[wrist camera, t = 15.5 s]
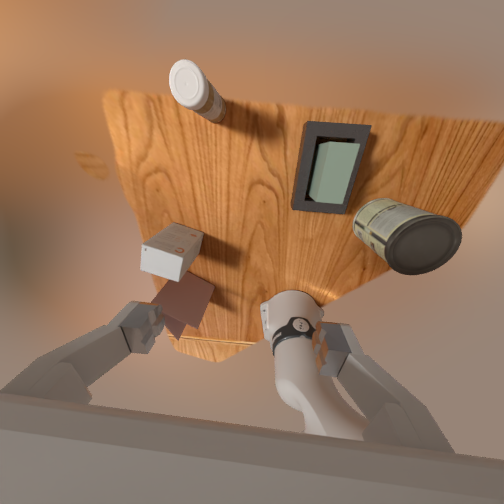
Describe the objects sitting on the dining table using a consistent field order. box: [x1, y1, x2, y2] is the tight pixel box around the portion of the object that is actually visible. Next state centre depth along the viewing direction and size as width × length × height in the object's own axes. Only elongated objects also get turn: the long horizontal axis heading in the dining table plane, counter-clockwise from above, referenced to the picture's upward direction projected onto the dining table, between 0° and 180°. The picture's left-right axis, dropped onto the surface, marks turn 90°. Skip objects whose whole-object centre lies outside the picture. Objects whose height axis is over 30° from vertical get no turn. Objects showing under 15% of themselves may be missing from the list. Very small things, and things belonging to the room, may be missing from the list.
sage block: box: [307, 142, 360, 204], centre depth 34 cm, size 4×9×9 cm, turn 176°
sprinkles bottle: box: [169, 59, 226, 123], centre depth 28 cm, size 5×5×14 cm
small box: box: [141, 222, 204, 282], centre depth 41 cm, size 8×6×13 cm
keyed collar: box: [291, 121, 372, 214], centre depth 36 cm, size 15×10×4 cm
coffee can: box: [353, 198, 462, 275], centre depth 35 cm, size 10×10×14 cm
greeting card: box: [151, 271, 215, 340], centre depth 46 cm, size 11×7×15 cm, turn 22°
